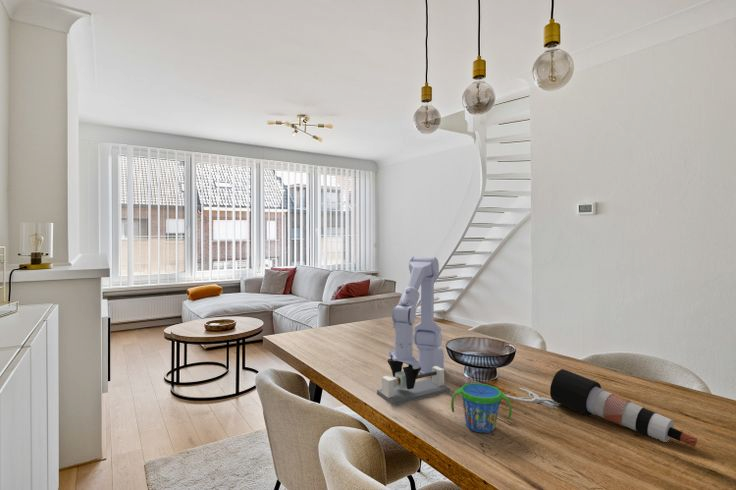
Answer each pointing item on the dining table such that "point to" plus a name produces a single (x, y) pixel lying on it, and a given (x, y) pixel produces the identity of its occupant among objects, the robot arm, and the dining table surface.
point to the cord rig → (420, 388)
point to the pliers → (535, 399)
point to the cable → (612, 407)
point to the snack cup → (481, 405)
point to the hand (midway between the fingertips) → (403, 384)
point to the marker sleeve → (401, 379)
